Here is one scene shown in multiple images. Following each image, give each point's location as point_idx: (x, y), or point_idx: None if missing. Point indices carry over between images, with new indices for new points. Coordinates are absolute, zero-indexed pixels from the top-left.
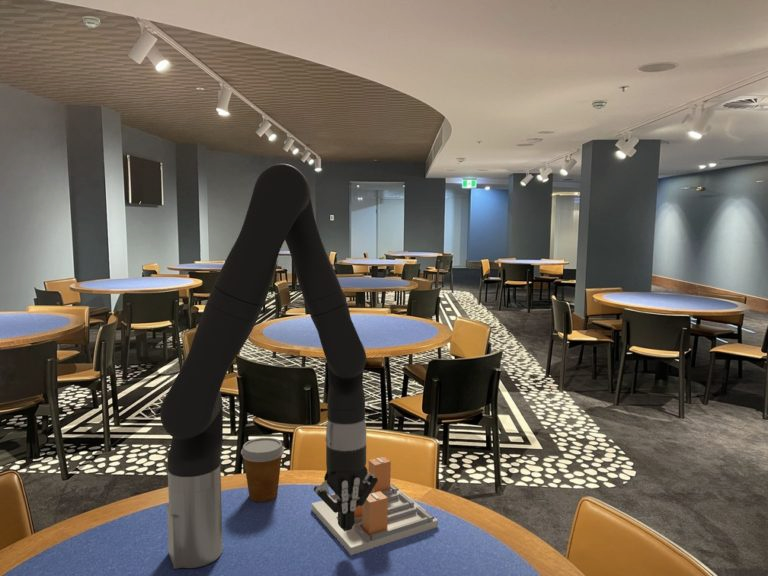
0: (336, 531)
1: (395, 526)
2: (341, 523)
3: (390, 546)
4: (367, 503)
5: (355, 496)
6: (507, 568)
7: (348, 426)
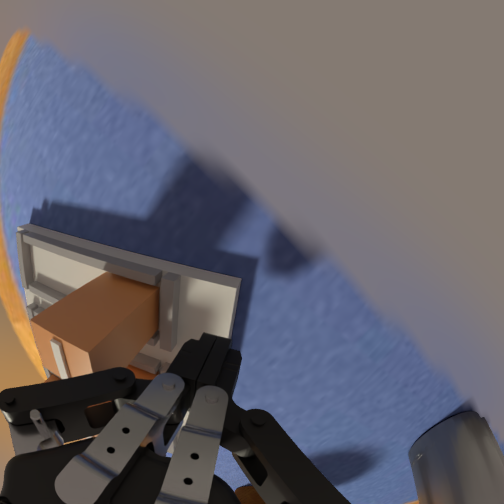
0: None
1: (82, 276)
2: (236, 366)
3: (128, 234)
4: (99, 361)
5: (131, 419)
6: (42, 45)
7: None
